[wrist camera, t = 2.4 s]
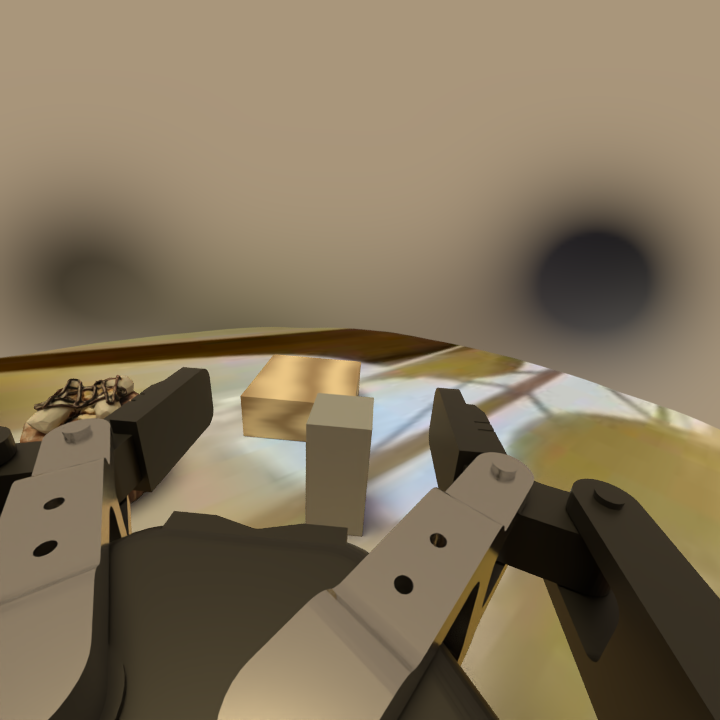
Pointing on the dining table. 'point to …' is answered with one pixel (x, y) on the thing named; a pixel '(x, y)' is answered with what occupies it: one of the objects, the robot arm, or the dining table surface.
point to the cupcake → (79, 408)
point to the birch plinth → (293, 394)
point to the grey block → (338, 460)
